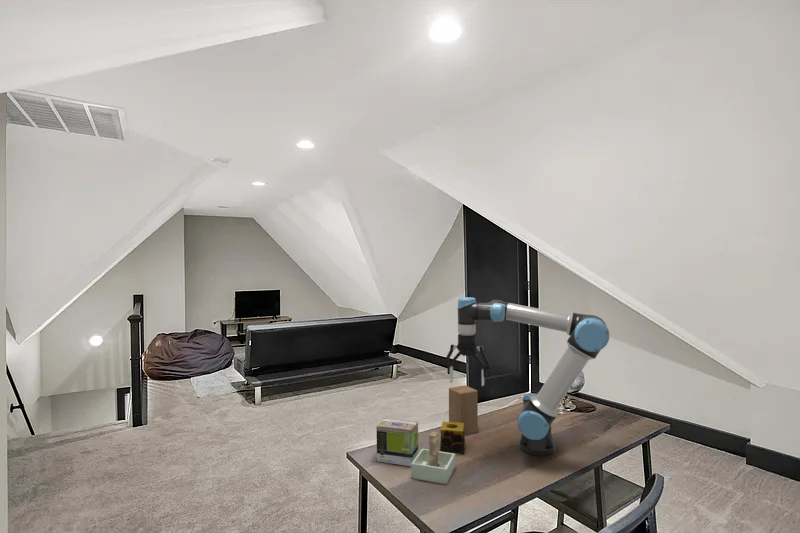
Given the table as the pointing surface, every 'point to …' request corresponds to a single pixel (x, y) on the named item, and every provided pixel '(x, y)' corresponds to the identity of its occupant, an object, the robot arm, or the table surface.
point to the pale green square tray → (433, 467)
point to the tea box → (397, 441)
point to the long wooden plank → (433, 449)
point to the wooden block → (464, 407)
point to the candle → (452, 437)
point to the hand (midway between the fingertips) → (467, 383)
